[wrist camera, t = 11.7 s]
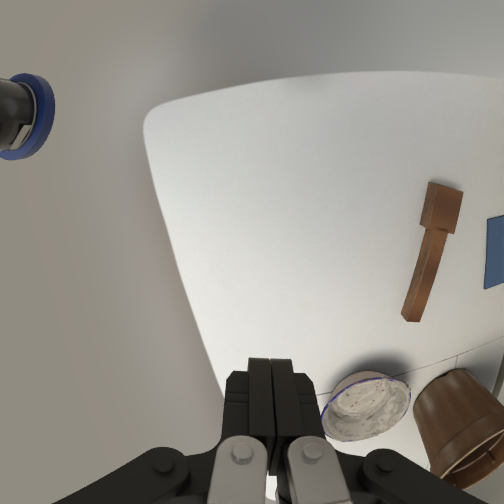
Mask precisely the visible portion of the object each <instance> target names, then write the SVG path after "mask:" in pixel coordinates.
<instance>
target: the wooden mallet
mask: <svg viewBox="0 0 504 504" xmlns="http://www.w3.org/2000/svg"><path fill="white" fill-rule="evenodd" d="M462 197H463V192H461V191H458V190H455V189H451V188H448V187H445V186H441V185H437V184H434V183H430V182H429V183H428V188H427V193H426V198H425V203H424V208H423V213H422V217H421V221H420V225H422V226H424V227H426V230H425V234H424V238H423V242H422V246H421V250H420V254H419V257H418V261H417V264H416V268H415V271H414V275H413V278H412V281H411V284H410V288H409V291H408V294H407V297H406V300H405V303H404V306H403V309H402V312H401V315H402V316H403V317H404V319H405V320H406V321H407V322H420V320H421V317H422V314H423V311H424V309H425V306H426V303H427V300H428V297H429V294H430V291H431V288H432V285H433V282H434V279H435V276H436V273H437V270H438V266H439V263H440V259H441V256H442V252H443V249H444V245H445V241H446V238H447V234H448V233H450V234H454V232H455V228H456V224H457V220H458V216H459V211H460V207H461V202H462Z"/></svg>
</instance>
